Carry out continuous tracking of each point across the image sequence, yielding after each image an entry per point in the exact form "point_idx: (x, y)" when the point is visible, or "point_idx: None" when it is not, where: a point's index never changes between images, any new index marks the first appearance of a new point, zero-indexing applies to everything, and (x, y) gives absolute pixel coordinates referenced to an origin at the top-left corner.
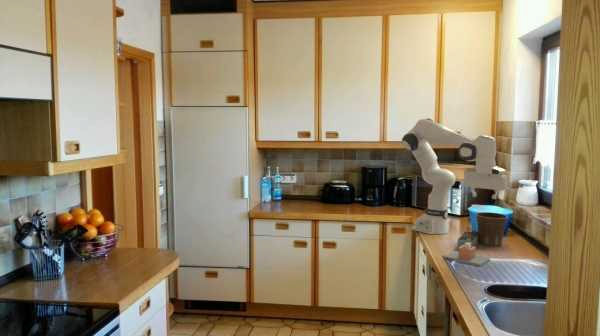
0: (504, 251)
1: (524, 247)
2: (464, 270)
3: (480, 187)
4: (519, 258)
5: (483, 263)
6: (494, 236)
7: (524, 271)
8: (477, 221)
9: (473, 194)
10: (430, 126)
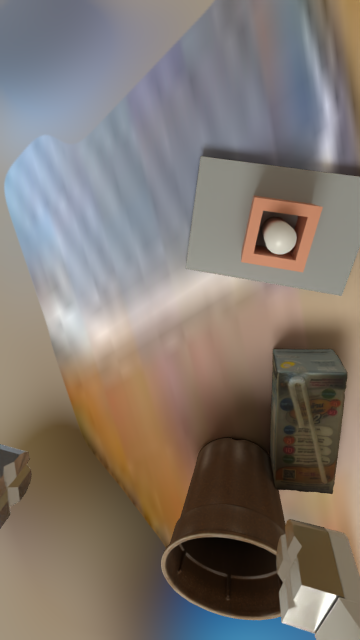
0: (173, 401)
1: (135, 462)
2: (252, 35)
3: None
4: (114, 348)
5: (196, 194)
6: (211, 466)
7: (56, 205)
8: None
9: (336, 565)
10: None
